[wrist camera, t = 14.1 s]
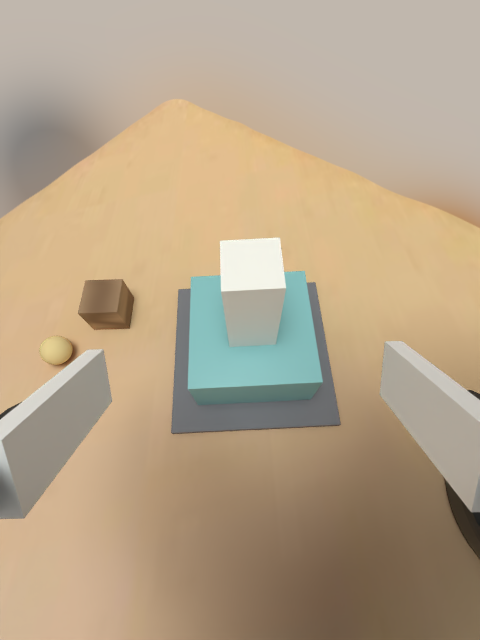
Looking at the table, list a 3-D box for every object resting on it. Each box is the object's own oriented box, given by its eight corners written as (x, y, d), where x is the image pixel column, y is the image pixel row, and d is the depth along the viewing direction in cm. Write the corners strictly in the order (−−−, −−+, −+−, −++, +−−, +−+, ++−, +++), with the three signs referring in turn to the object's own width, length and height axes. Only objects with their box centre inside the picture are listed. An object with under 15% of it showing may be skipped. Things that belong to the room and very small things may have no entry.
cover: (296, 302, 37) (323, 197, 23) (310, 399, 32) (354, 337, 18) (199, 307, 37) (170, 205, 23) (198, 405, 32) (160, 347, 18)
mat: (314, 285, 38) (315, 282, 38) (339, 425, 31) (340, 424, 30) (179, 292, 38) (178, 289, 38) (172, 433, 31) (171, 432, 31)
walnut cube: (134, 298, 38) (122, 279, 35) (129, 328, 36) (116, 312, 33) (100, 299, 38) (85, 280, 35) (94, 329, 36) (77, 313, 33)
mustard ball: (83, 349, 35) (69, 338, 33) (64, 373, 34) (49, 363, 31) (62, 338, 36) (47, 326, 33) (43, 361, 35) (26, 350, 32)
